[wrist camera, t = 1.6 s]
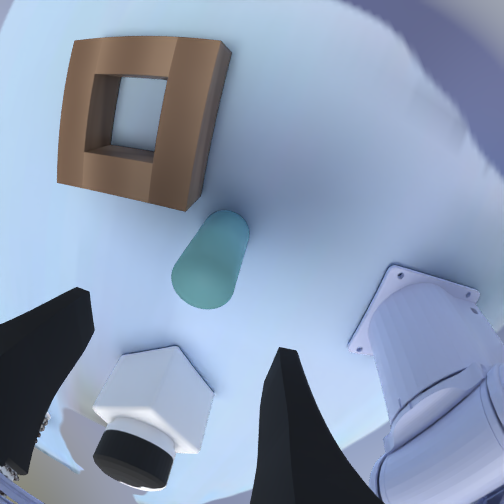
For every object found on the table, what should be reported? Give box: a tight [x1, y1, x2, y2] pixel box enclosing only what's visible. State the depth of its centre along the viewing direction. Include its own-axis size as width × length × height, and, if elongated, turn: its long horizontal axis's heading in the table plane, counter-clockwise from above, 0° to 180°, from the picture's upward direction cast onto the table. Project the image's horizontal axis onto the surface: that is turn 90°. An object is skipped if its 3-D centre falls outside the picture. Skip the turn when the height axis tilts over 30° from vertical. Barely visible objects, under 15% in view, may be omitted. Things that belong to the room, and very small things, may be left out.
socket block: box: [57, 36, 232, 212], centre depth 15 cm, size 9×9×3 cm
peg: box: [171, 210, 249, 309], centre depth 16 cm, size 3×3×6 cm
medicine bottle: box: [93, 346, 214, 491], centre depth 21 cm, size 7×7×12 cm
